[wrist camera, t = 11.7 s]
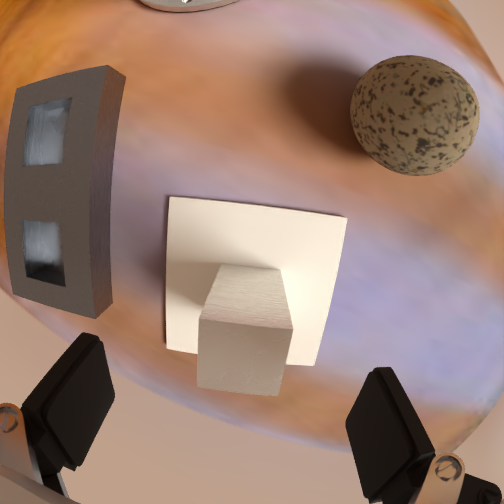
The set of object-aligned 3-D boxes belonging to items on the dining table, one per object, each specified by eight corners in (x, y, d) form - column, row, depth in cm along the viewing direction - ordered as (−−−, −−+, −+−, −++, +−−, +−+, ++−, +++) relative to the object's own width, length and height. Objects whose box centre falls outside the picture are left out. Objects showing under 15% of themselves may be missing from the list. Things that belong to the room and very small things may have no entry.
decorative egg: (351, 184, 18) (431, 195, 9) (321, 88, 17) (372, 19, 7) (431, 165, 18) (527, 168, 8) (404, 77, 16) (484, 33, 6)
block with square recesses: (37, 93, 16) (16, 88, 13) (126, 76, 16) (107, 65, 14) (32, 282, 21) (13, 294, 18) (112, 302, 21) (95, 319, 18)
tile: (172, 196, 19) (169, 196, 18) (344, 216, 19) (347, 218, 18) (168, 344, 22) (166, 348, 21) (312, 361, 22) (313, 365, 21)
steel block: (222, 262, 19) (198, 318, 12) (280, 269, 19) (293, 329, 12) (217, 314, 20) (196, 386, 13) (272, 320, 20) (277, 396, 13)
